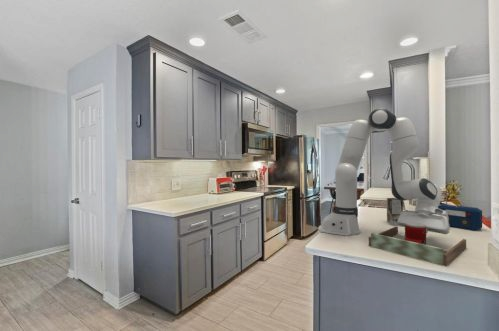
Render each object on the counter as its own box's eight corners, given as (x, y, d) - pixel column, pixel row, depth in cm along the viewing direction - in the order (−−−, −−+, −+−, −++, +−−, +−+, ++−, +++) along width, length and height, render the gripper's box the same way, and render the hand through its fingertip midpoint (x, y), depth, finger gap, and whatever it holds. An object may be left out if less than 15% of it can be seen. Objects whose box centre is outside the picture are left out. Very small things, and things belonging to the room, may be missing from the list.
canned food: (427, 252, 104) (427, 226, 104) (405, 249, 108) (405, 224, 108) (425, 247, 111) (425, 223, 110) (404, 244, 115) (404, 221, 115)
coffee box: (403, 226, 147) (403, 199, 147) (391, 225, 148) (391, 199, 148) (397, 222, 156) (397, 197, 156) (386, 222, 157) (386, 197, 157)
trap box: (368, 245, 113) (368, 232, 113) (395, 233, 131) (395, 222, 131) (446, 266, 90) (446, 250, 90) (466, 248, 108) (466, 235, 108)
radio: (433, 224, 150) (433, 192, 150) (437, 222, 155) (437, 191, 155) (479, 232, 133) (479, 196, 133) (482, 229, 138) (482, 194, 138)
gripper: (400, 205, 125) (392, 228, 119) (450, 211, 109) (444, 237, 103) (403, 213, 128) (396, 235, 122) (453, 220, 111) (447, 246, 106)
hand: (418, 236), depth 112 cm, fingers closed, pressing on canned food
